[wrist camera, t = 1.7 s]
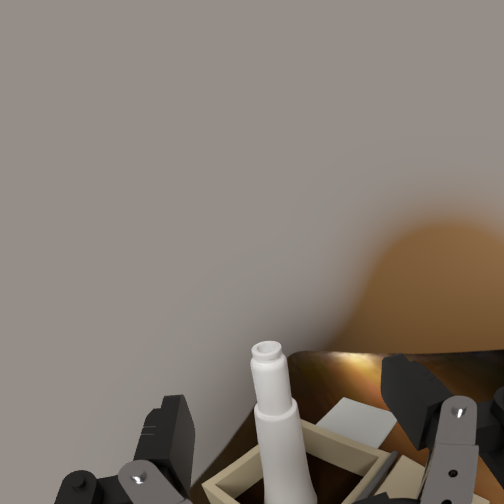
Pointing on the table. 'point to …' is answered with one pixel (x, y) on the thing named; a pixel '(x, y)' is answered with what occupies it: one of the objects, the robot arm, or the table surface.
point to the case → (318, 444)
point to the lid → (409, 481)
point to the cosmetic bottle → (279, 429)
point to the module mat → (359, 422)
